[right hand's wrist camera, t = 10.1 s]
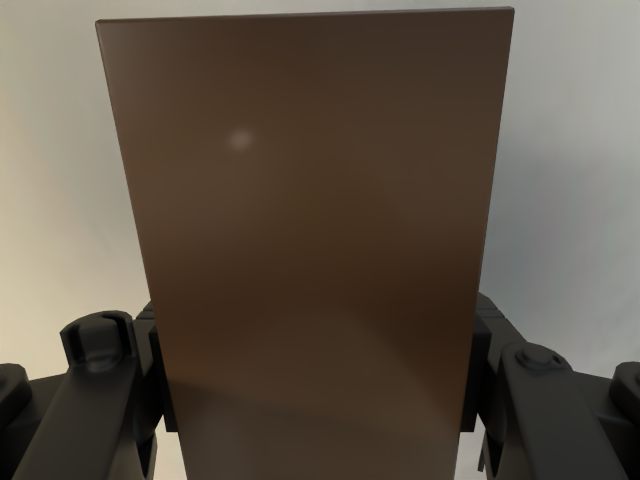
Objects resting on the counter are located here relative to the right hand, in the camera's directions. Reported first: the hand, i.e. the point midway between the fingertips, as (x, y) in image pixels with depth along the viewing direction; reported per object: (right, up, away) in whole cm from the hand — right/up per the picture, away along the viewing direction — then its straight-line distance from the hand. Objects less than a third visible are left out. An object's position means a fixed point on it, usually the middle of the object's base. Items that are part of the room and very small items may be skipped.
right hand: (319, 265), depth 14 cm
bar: (+1, -31, +12) cm, 33 cm away
